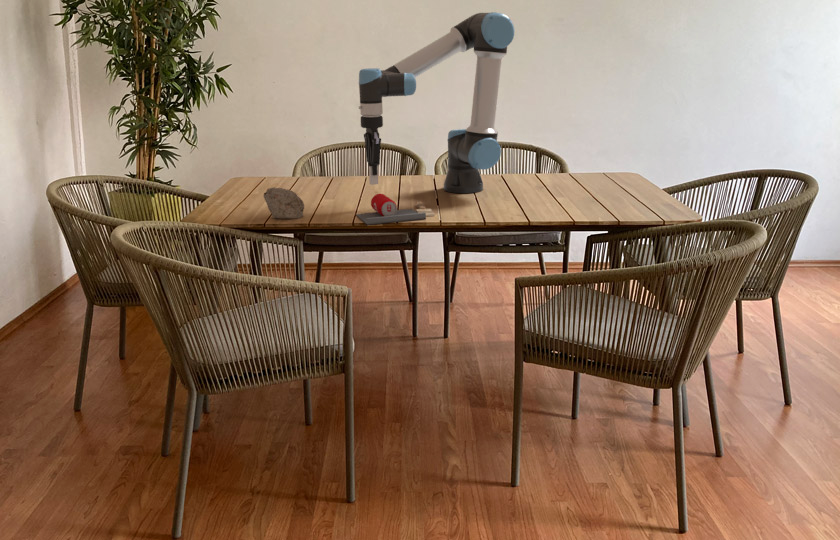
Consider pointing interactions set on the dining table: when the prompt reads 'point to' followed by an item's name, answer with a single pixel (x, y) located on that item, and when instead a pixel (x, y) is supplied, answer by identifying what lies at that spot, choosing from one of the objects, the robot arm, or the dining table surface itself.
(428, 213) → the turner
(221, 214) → the dining table surface
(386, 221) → the mat
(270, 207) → the rock
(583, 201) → the dining table surface
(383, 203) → the beverage can
